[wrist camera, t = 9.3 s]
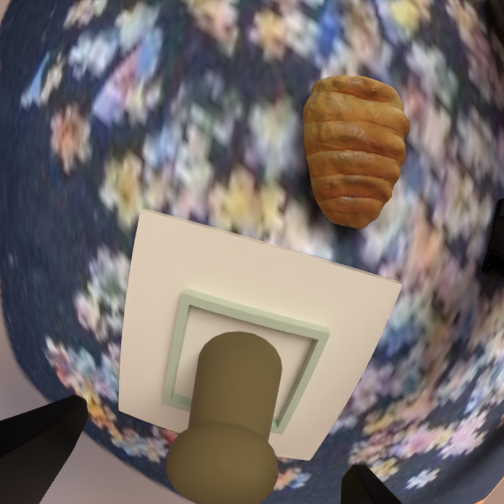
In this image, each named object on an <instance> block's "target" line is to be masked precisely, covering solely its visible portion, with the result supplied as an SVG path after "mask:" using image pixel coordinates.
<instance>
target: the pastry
mask: <svg viewBox="0 0 504 504" xmlns="http://www.w3.org/2000/svg"><path fill="white" fill-rule="evenodd" d="M403 110H404V106H403V104H402V102H401V99H400V97H399V96H398V94H397V91H396V90H395V89H394V88H392V87H391V86H389V85H387V84H384V83H382V82H379V81H376V80H373V79H370V78H366V77H363V76H355V77H349V76H346V75H341V76H332V77H328V78H325V79H322V80H318V81H317V82H316V83H315V84H314V85H313V88H312V92H311V95H310V97H309V99H308V100H307V102H306V104H305V106H304V108H303V119H304V149H305V153H306V158H307V162H308V166H309V174H310V178H311V185H312V189H313V194H314V197H315V199H316V201H317V204H318V205H319V206H320V208H321V210H322V212H323V213H324V215H325V216H326V217H327V219H328V220H329V221H331V222H332V223H335V224H339V225H342V226H349V227H353V228H358V229H362V228H364V227H366V226H367V225H368V224H369V223H371V222H372V221H373V220H376V219H377V218H378V216H379V214H380V212H381V210H382V208H383V206H384V204H385V203H386V202H388V201H389V199H390V198H391V197H392V190H393V187H394V184H395V183H396V182H397V180H398V178H399V176H400V168H401V166H402V164H403V163H404V162H405V143H404V137H405V136H406V135H407V134H408V133H409V130H410V128H409V122H408V119H407V117H406V116H405V115H404V113H403Z"/></svg>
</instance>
